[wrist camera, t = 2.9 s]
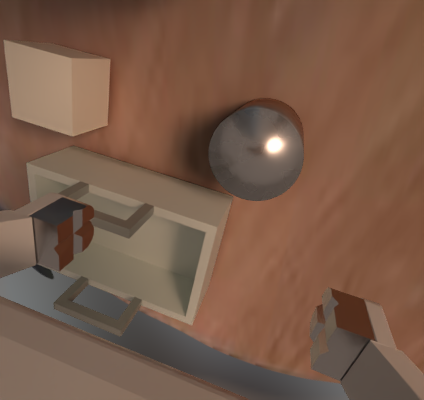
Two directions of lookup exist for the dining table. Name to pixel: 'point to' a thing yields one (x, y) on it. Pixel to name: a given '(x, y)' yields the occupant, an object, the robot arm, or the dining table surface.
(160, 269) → the tote
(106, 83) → the cream box
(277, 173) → the grey metal tin
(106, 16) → the dining table surface
